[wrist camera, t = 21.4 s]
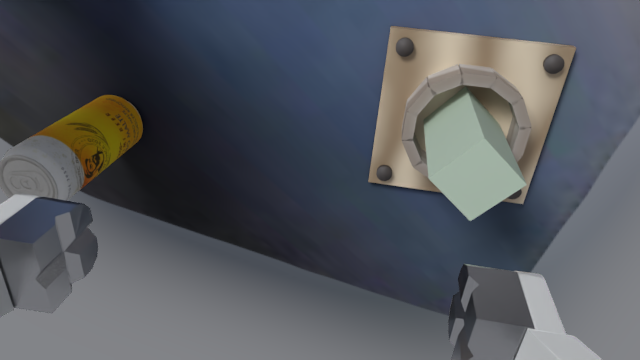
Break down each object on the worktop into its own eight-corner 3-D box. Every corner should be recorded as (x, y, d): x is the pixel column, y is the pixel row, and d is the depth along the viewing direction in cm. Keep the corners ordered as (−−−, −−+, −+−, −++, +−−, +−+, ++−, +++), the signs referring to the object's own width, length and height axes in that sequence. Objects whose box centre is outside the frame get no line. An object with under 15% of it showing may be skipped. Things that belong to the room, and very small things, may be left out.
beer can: (150, 146, 53) (68, 219, 40) (100, 141, 54) (4, 211, 41) (141, 94, 50) (50, 155, 37) (89, 90, 51) (-19, 148, 38)
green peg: (456, 154, 47) (470, 221, 37) (423, 119, 46) (428, 178, 36) (499, 123, 45) (526, 184, 35) (465, 86, 44) (484, 138, 33)
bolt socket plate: (368, 178, 51) (366, 196, 48) (391, 25, 43) (389, 34, 40) (521, 200, 49) (529, 220, 46) (573, 45, 41) (587, 56, 38)
